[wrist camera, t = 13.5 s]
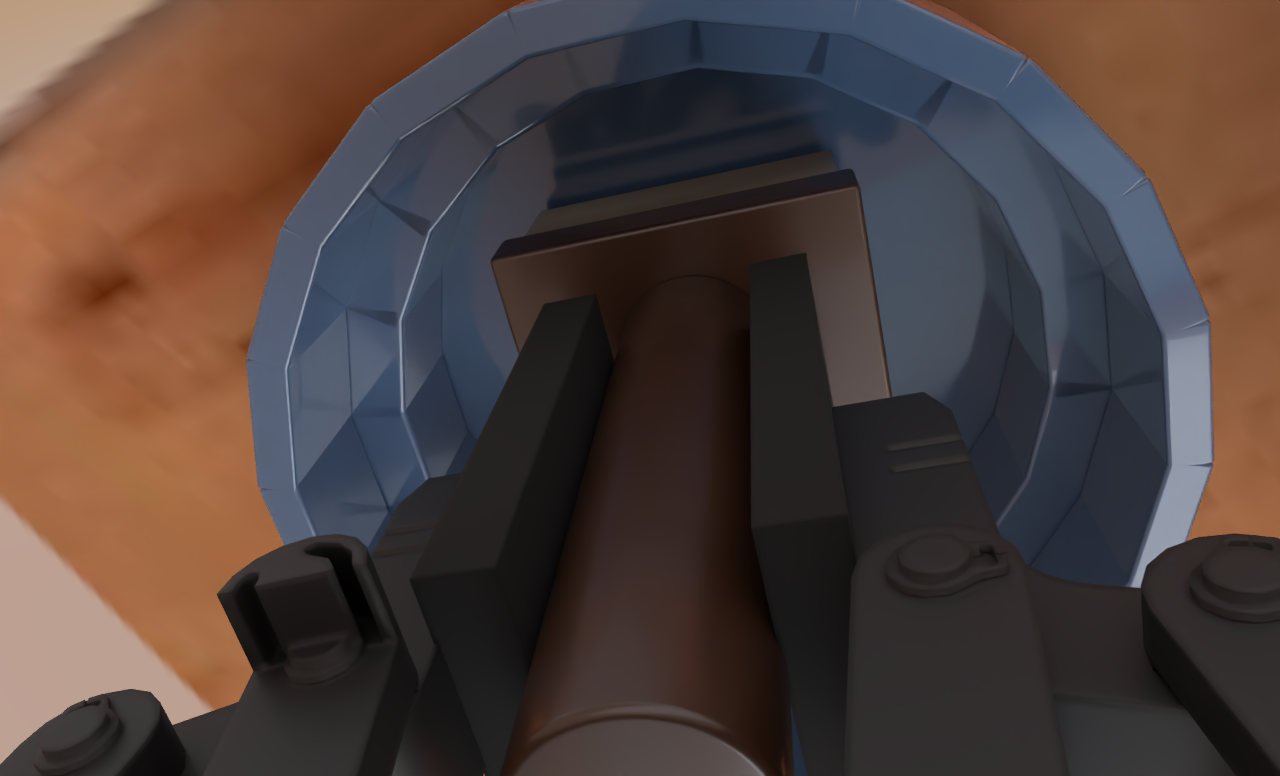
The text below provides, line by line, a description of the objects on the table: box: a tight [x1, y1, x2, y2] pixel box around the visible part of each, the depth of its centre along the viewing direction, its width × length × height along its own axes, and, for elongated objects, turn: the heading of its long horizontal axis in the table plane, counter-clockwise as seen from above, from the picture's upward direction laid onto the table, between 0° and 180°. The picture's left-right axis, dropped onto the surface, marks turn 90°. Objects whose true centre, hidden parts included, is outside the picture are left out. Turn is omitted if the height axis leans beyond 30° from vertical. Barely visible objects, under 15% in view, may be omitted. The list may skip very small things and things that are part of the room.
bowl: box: [246, 0, 1214, 776], centre depth 17 cm, size 13×13×6 cm
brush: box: [490, 150, 893, 776], centre depth 13 cm, size 5×4×12 cm
